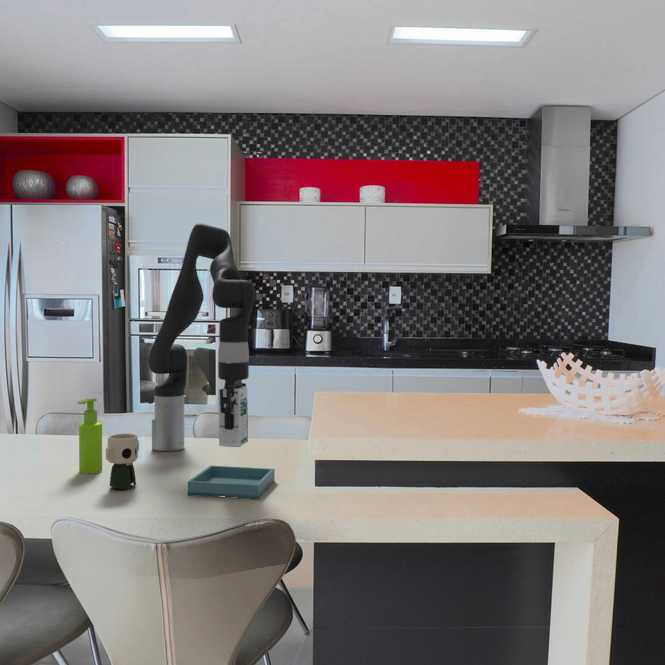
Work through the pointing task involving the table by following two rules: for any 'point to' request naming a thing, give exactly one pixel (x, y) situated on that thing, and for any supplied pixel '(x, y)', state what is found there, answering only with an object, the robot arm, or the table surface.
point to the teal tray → (232, 482)
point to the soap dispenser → (90, 440)
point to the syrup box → (235, 421)
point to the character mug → (122, 459)
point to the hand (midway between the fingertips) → (233, 426)
